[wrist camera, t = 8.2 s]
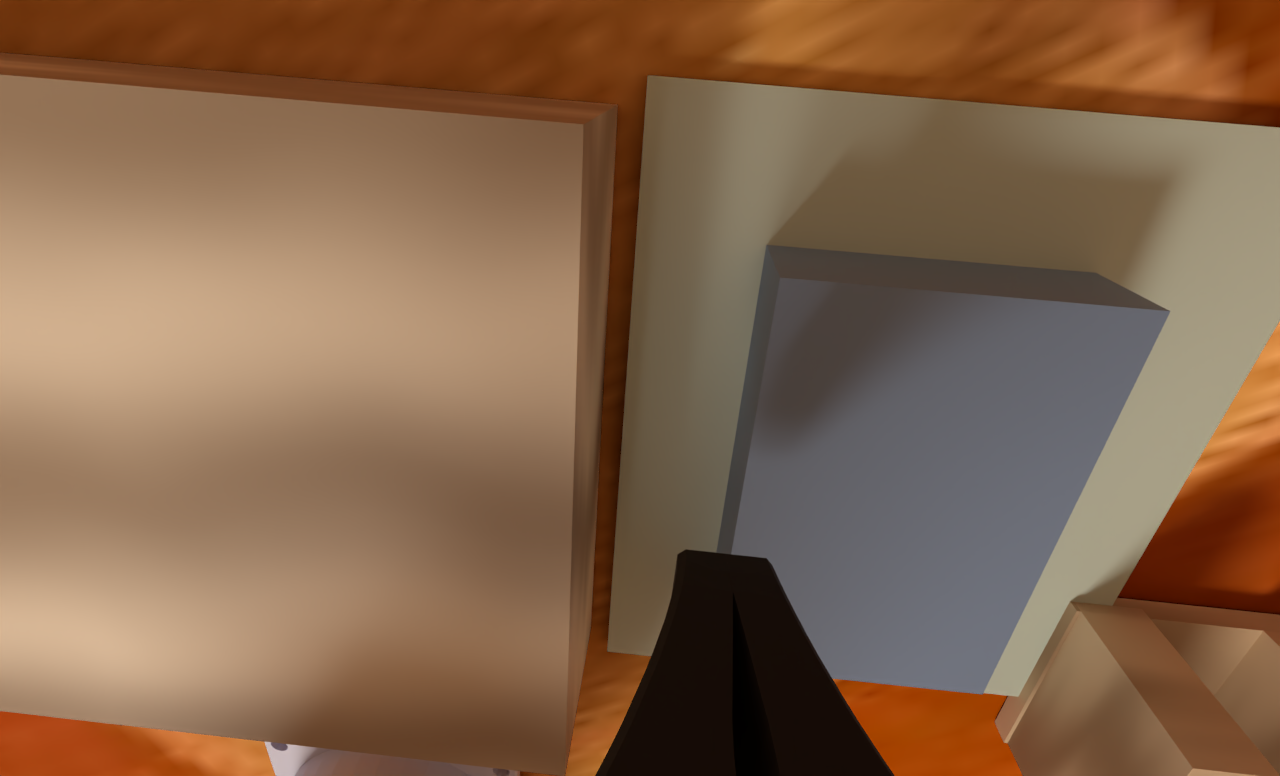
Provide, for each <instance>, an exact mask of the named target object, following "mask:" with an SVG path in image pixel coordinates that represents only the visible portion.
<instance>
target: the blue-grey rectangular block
mask: <svg viewBox="0 0 1280 776" xmlns="http://www.w3.org/2000/svg"><path fill="white" fill-rule="evenodd" d="M1169 314H1170V311H1169V310H1167V309H1165V308H1163V307H1161V306H1159V305H1157V304H1156V303H1154V302H1152V301H1150V300H1148V299H1146V298H1144V297H1142V296H1140V295H1138V294H1136V293H1134V292H1132V291H1130V290H1128V289H1126V288H1125V287H1123V286H1121V285H1119V284H1117V283H1115V282H1113V281H1111V280H1109V279H1107V278H1105V277H1103V276H1101V275H1099V274H1097V273H1093V272H1081V271H1069V270H1058V269H1046V268H1034V267H1022V266H1011V265H999V264H987V263H975V262H963V261H952V260H940V259H928V258H916V257H904V256H893V255H881V254H869V253H857V252H845V251H834V250H822V249H810V248H798V247H787V246H775V245H766V250H765V256H764V263H763V269H762V275H761V281H760V287H759V293H758V299H757V306H756V312H755V318H754V324H753V330H752V336H751V342H750V349H749V355H748V361H747V367H746V373H745V379H744V386H743V392H742V398H741V404H740V410H739V416H738V422H737V429H736V435H735V441H734V447H733V453H732V459H731V465H730V472H729V478H728V484H727V490H726V496H725V502H724V508H723V515H722V521H721V527H720V533H719V539H718V545H717V551H716V553H724V554H733V555H742V556H751V557H760V558H767V559H768V560H769V562H770V563H771V564H772V565H773V568H774V570H775V572H776V574H777V576H778V579H779V581H780V583H781V585H782V587H783V589H784V591H785V593H786V595H787V597H788V599H789V601H790V603H791V605H792V607H793V609H794V611H795V613H796V615H797V617H798V619H799V621H800V622H801V624H802V626H803V628H804V630H805V632H806V634H807V636H808V637H809V639H810V641H811V643H812V645H813V646H814V648H815V650H816V652H817V654H818V655H819V657H820V659H821V660H822V662H823V664H824V666H825V667H826V669H827V671H828V672H829V674H830V676H831V677H832V678H834V679H843V680H852V681H862V682H871V683H881V684H890V685H899V686H909V687H918V688H928V689H937V690H946V691H956V692H965V693H975V694H983V693H984V691H985V689H986V687H987V685H988V683H989V680H990V678H991V676H992V674H993V672H994V670H995V668H996V666H997V664H998V662H999V660H1000V658H1001V656H1002V654H1003V652H1004V650H1005V648H1006V646H1007V644H1008V642H1009V640H1010V638H1011V636H1012V634H1013V632H1014V630H1015V627H1016V625H1017V623H1018V621H1019V619H1020V617H1021V615H1022V613H1023V611H1024V609H1025V607H1026V605H1027V603H1028V601H1029V599H1030V597H1031V595H1032V593H1033V591H1034V589H1035V587H1036V585H1037V583H1038V581H1039V579H1040V577H1041V574H1042V572H1043V570H1044V568H1045V566H1046V564H1047V562H1048V560H1049V558H1050V556H1051V554H1052V552H1053V550H1054V548H1055V546H1056V544H1057V542H1058V540H1059V538H1060V536H1061V534H1062V532H1063V530H1064V528H1065V526H1066V524H1067V521H1068V519H1069V517H1070V515H1071V513H1072V511H1073V509H1074V507H1075V505H1076V503H1077V501H1078V499H1079V497H1080V495H1081V493H1082V491H1083V489H1084V487H1085V485H1086V483H1087V481H1088V479H1089V477H1090V475H1091V473H1092V470H1093V468H1094V466H1095V464H1096V462H1097V460H1098V458H1099V456H1100V454H1101V452H1102V450H1103V448H1104V446H1105V444H1106V442H1107V440H1108V438H1109V436H1110V434H1111V432H1112V430H1113V428H1114V426H1115V424H1116V422H1117V420H1118V417H1119V415H1120V413H1121V411H1122V409H1123V407H1124V405H1125V403H1126V401H1127V399H1128V397H1129V395H1130V393H1131V391H1132V389H1133V387H1134V385H1135V383H1136V381H1137V379H1138V377H1139V375H1140V373H1141V371H1142V369H1143V367H1144V364H1145V362H1146V360H1147V358H1148V356H1149V354H1150V352H1151V350H1152V348H1153V346H1154V344H1155V342H1156V340H1157V338H1158V336H1159V334H1160V332H1161V330H1162V328H1163V326H1164V324H1165V322H1166V320H1167V318H1168V316H1169Z"/></svg>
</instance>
